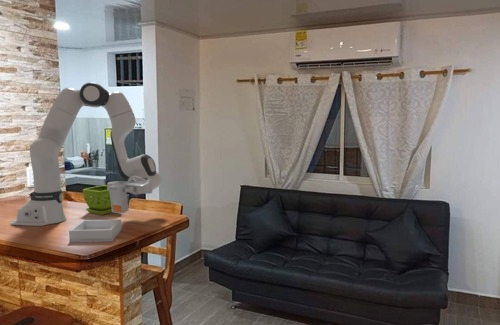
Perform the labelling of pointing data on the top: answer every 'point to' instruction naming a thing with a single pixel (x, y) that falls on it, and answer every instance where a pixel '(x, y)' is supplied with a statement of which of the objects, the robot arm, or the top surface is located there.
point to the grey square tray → (95, 230)
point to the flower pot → (98, 200)
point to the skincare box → (118, 198)
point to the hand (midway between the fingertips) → (117, 190)
